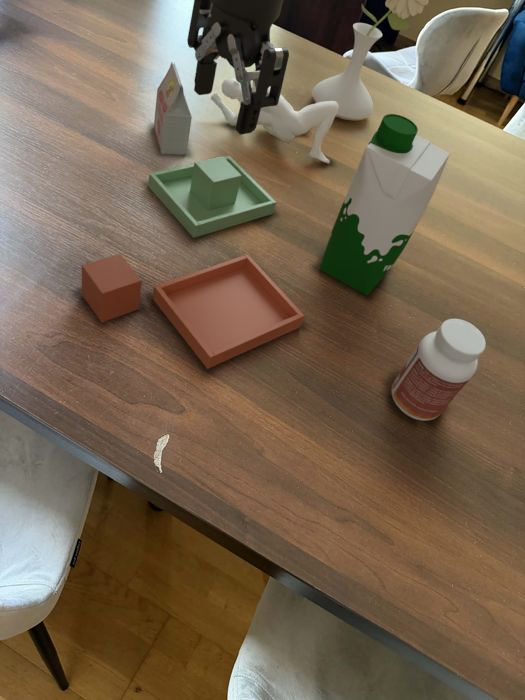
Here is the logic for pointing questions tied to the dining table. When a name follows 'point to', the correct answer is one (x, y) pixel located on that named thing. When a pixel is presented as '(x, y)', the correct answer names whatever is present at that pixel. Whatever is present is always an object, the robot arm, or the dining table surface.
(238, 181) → the sage block
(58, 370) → the dining table surface
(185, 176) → the sage tray
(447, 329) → the pill bottle
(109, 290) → the terracotta block
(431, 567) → the dining table surface
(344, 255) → the soya milk
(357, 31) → the flower in vase
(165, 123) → the small milk carton
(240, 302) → the terracotta tray
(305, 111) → the person figurine
